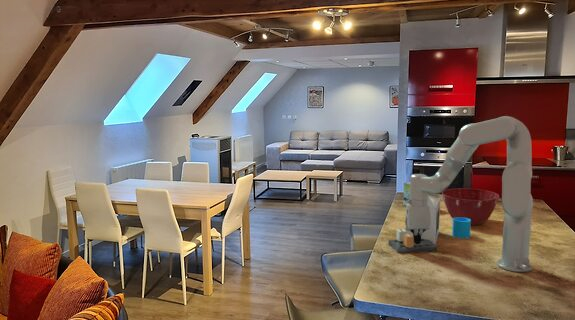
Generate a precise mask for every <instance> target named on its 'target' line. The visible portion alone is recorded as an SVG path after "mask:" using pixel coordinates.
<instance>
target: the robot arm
mask: <svg viewBox="0 0 575 320" xmlns="http://www.w3.org/2000/svg"><path fill="white" fill-rule="evenodd" d="M458 132H459V133H458V136H457V138H456V140H455V141H454V142H453V144H452V145H451V146H450V147H449V148H448V150H447V152H446V155H445V159H444V161H443V163H442V165H441V166H440V167H439V168H438V171H437V172H435V174H434V175H432V176H428V175H426V174H424V173H413V174H411V175H410V177H409V182H410V198H409V200H407V201H406V203H408V204H409V205H408V207H407V211H406V210H405V213H406V214H405V221H404V222H405V224H404V225H405V229H404V231H411V232H412V233H413V237H414V243H415V244H420V242H421V235H422V234H423V232H424V231H427V230H429V229H430V226H431V216H430V208H429V206H428V205H427V197H428V193H431V194H437V195H439V194H442V192H443V191H445V190H447V189H448V187H449V186H451V184H452V182H453V181H454V180H455V178H456V177H457V176H458V174H459V172H460V171H461V170H462V169H463V168H464V166H465V165H466V164H467V162H468V161H469V160H470V158H471V156H472V155H473V154H474V152H475V151H476V150H477V149H478V147H479V146H481V145H484V144H489V143H494V142H499V141H504V140H505V141H506V165H505V166H506V167H505V168H504V170H503V172H502V176H501V183H502V184H501V185H502V186H501V206H502V209H503V211H504V216H503V229H502V251H501V258H500V259H498V260H497V261H496V262H497V263H496V264H497V266H498V267H499V268H501V269H504V270H506V271H511V272H515V273H516V272H517V273H526V272H530V271H533V265H532V264H531V262H530V258H529V257H530V243H531V242H530V241H531V229H532V228H531V227H532V216H533V215H532V213H533V205H534V198H533V196H532V194H531V193H532V192H531V189H532V188H531V187H532V186H531V185H532V184H531V183H532V177H533V169H532V168H533V167H532V165H533V164H532V160H533V159H532V158H533V157H532V156H533V155H532V154H533V153H532V138H531V134H530V131H529V129H528V127H527V126H526V125H525V124H524V123H523V122H522V121H520V120H518V119H517V118H515V117H513V116H508V115H504V116H499V117H497V118H493V119H489V120H484V121H480V122H476V123H469V124H465V125H463V126H462V127H461V128H460V130H459V131H458ZM417 229H418V232H417Z"/></svg>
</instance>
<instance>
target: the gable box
mask: <svg viewBox="0 0 575 320" xmlns="http://www.w3.org/2000/svg"><path fill="white" fill-rule="evenodd" d="M408 205H409V204H408ZM408 205H407V206H405V207H406V209H405V212H406V211H407V207H408ZM427 205H428V206H429V208H430V216H431V226H430V229H429V230H427V231H424V232H423V234H422V235H421V239H426V240H430V241H431V242H432V243H434V244H435V245H436V242H437V240H438V236H439V233H440V219H441V218H440V216H441V214H440V213H441V198H440V196H439V194H431V193H428V197H427ZM405 231H406V230H405ZM417 232H418V229H417ZM406 234H411V235H412V236H413V233H412V232H411V231H406Z"/></svg>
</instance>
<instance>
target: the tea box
mask: <svg viewBox="0 0 575 320" xmlns="http://www.w3.org/2000/svg"><path fill="white" fill-rule="evenodd" d="M409 198H410V181H409V182H404V183H403V206H405V207H406V206H407V205H408V203H406V201H407V200H409Z"/></svg>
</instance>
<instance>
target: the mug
mask: <svg viewBox="0 0 575 320" xmlns="http://www.w3.org/2000/svg"><path fill="white" fill-rule="evenodd" d="M471 226H472V225H471V220H470V219H468V218H463V217H456V218H452V227H451V228H452V230H451V231H452V233H451V234H452V235H451V236H452V237H455V238H458V239H469V238H471Z"/></svg>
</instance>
